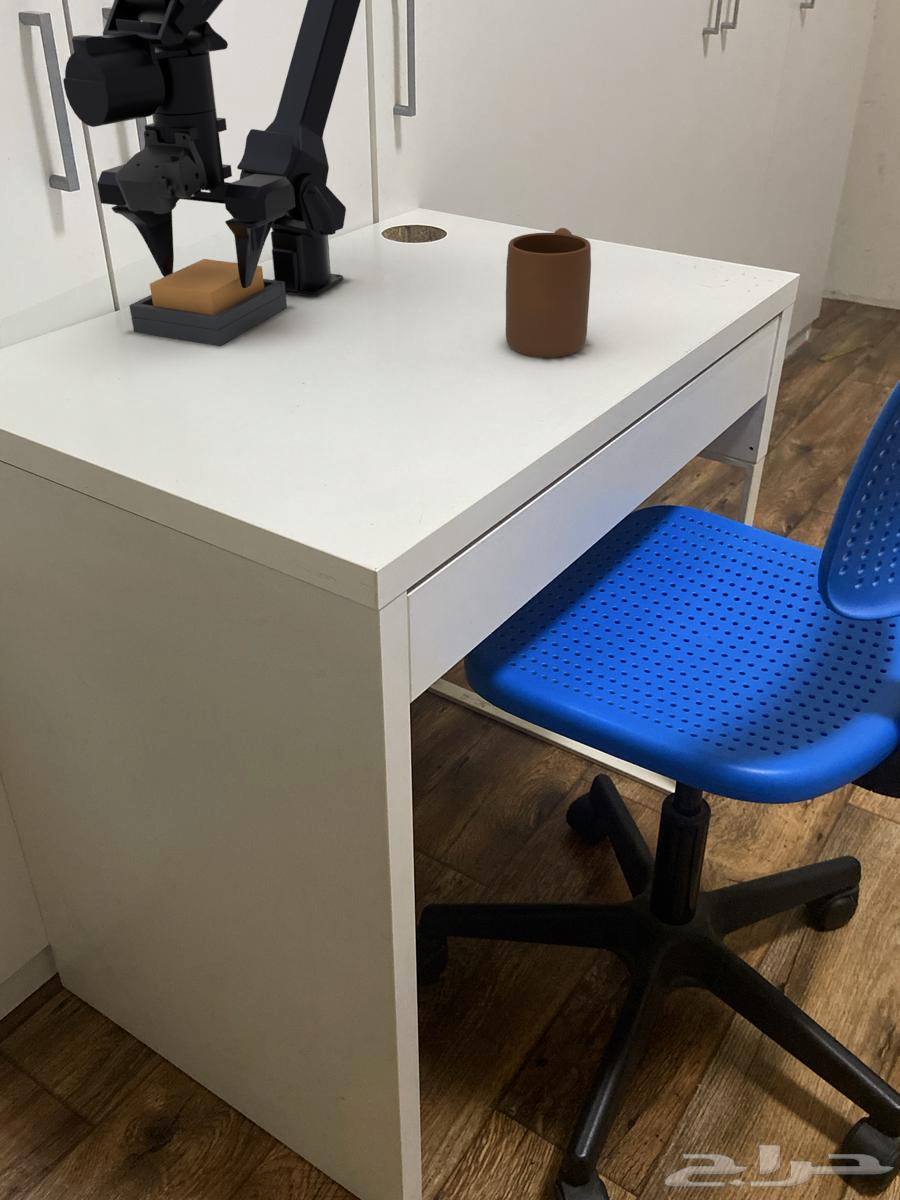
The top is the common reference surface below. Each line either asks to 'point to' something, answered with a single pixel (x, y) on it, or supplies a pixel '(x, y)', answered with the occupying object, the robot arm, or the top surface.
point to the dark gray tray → (209, 317)
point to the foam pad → (204, 287)
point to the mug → (547, 293)
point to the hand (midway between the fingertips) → (206, 281)
